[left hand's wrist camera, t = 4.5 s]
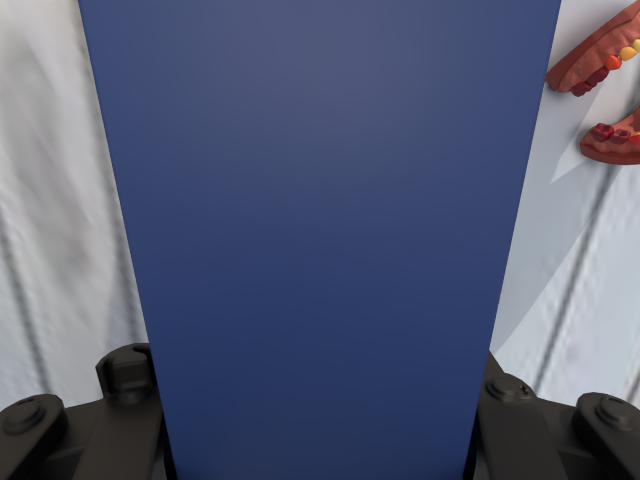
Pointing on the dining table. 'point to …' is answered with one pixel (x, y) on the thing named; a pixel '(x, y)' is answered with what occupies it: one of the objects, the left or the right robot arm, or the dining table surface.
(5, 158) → the dining table surface
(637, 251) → the dining table surface
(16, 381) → the dining table surface
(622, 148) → the dental model
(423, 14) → the bar
